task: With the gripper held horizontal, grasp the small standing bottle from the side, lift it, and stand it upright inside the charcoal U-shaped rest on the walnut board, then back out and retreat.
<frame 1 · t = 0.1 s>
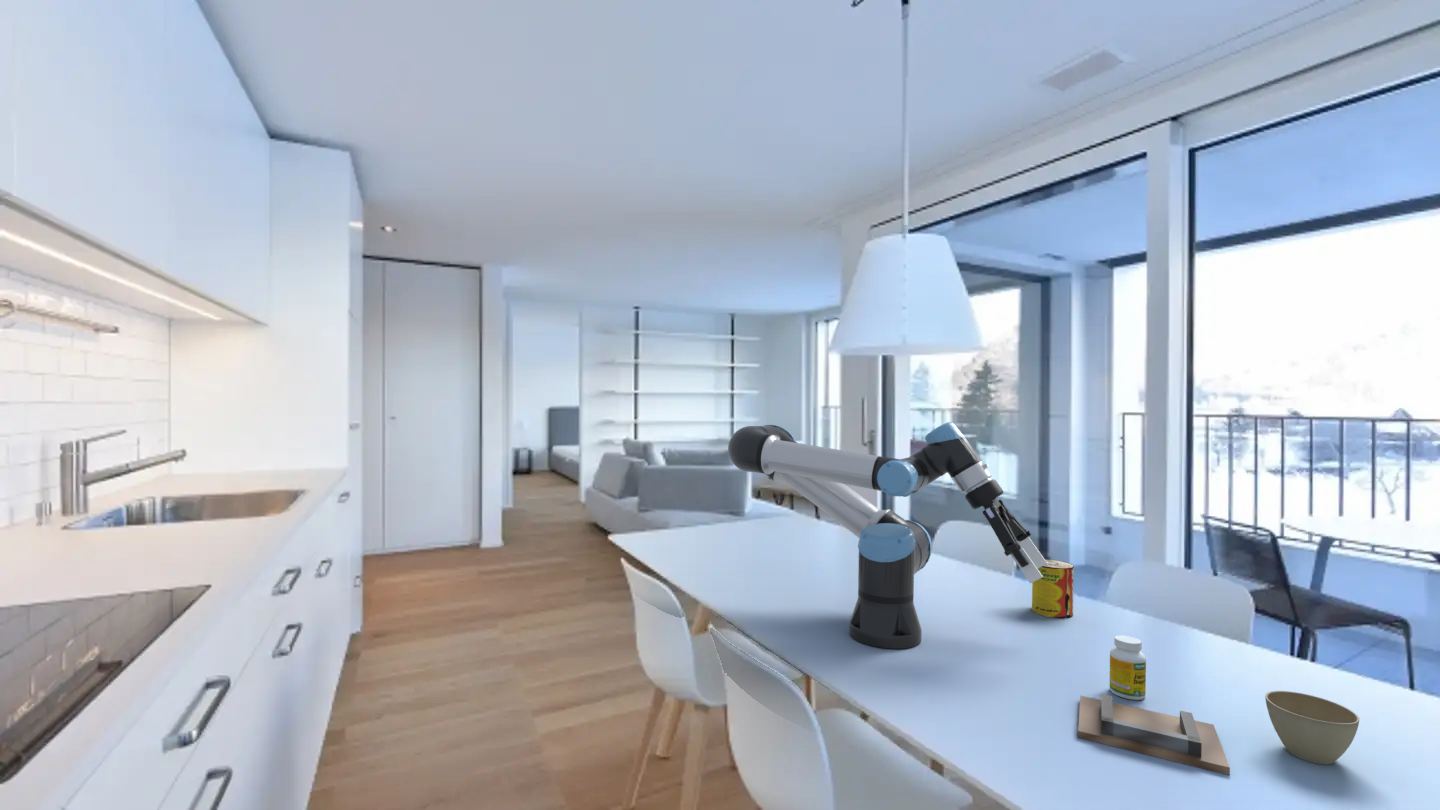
hand: (1039, 572, 133), 15 cm above the table, tool tilted 35°, fingers open, 13 cm apart
u rest: (1146, 734, 97), on the table
yellow red tin can: (1052, 613, 156), on the table
beige bowl: (1309, 756, 92), on the table
supplement bottle: (1127, 695, 111), on the table
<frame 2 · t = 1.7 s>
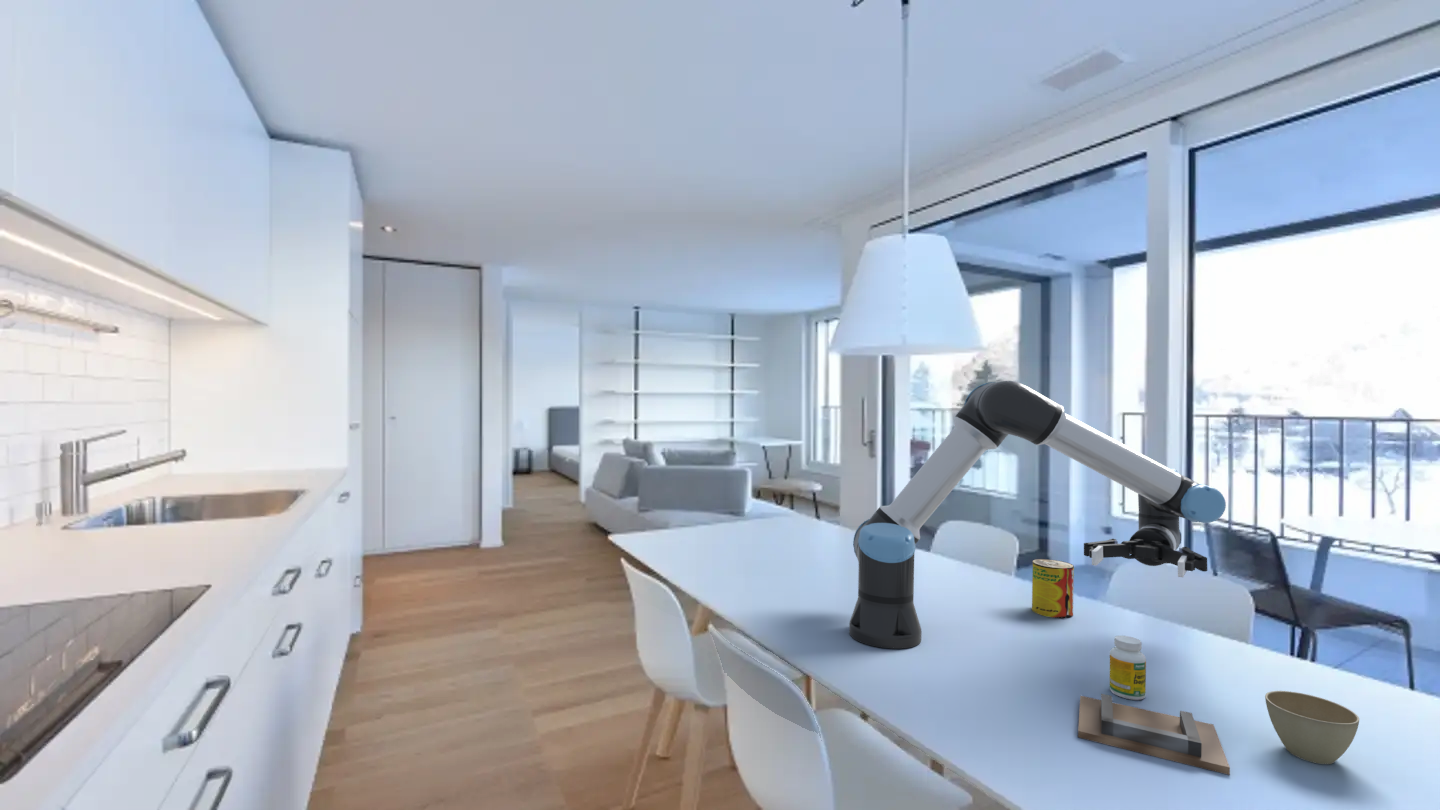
hand: (1135, 563, 118), 21 cm above the table, tool horizontal, fingers open, 13 cm apart
nothing on the table moved.
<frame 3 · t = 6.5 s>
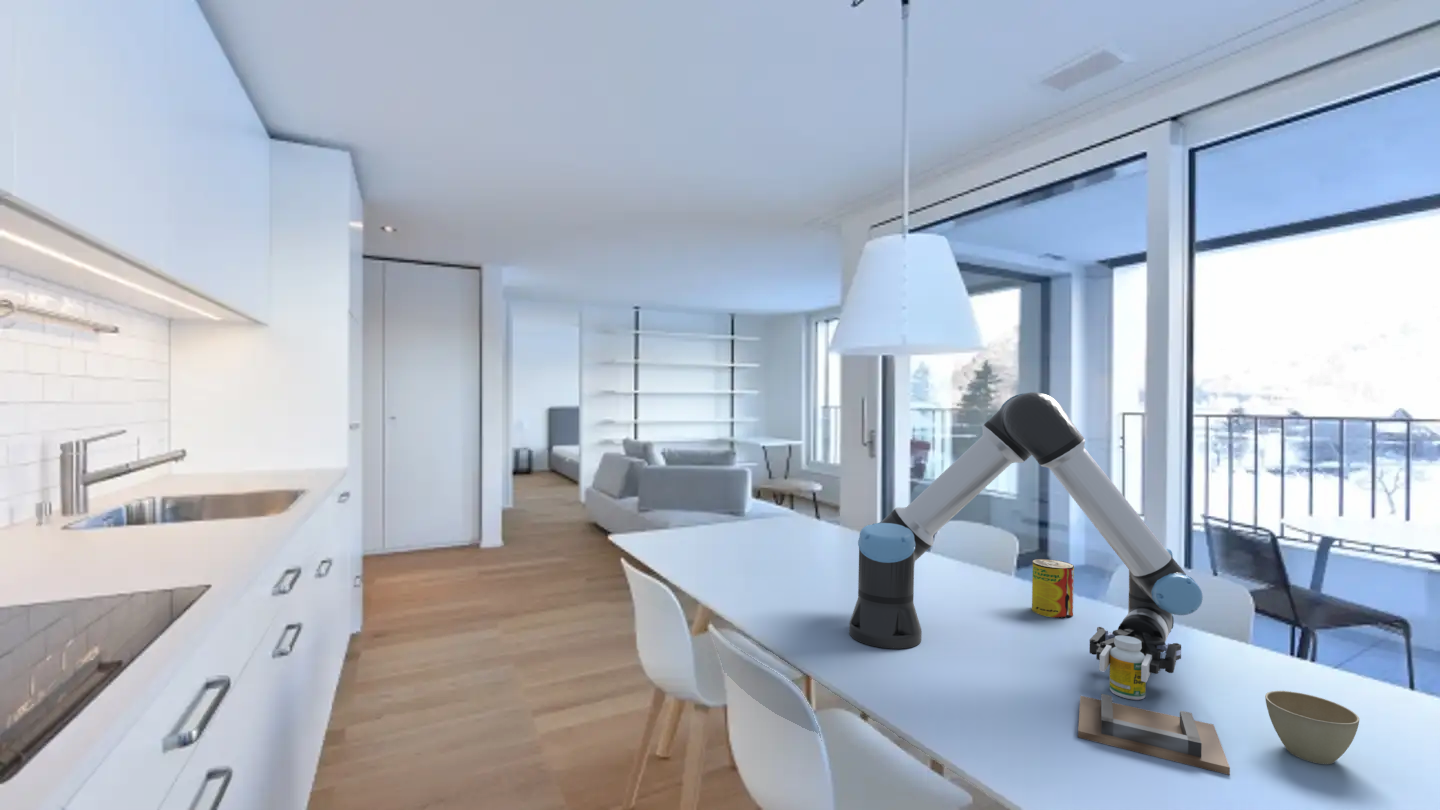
hand: (1122, 668, 107), 6 cm above the table, tool horizontal, fingers closed on supplement bottle, 5 cm apart
supplement bottle: (1127, 695, 111), on the table, touching gripper
everything else where it was.
when the fingers open (9 cm above the table, at t = 11.5 s): supplement bottle drops 2 cm, resting on u rest.
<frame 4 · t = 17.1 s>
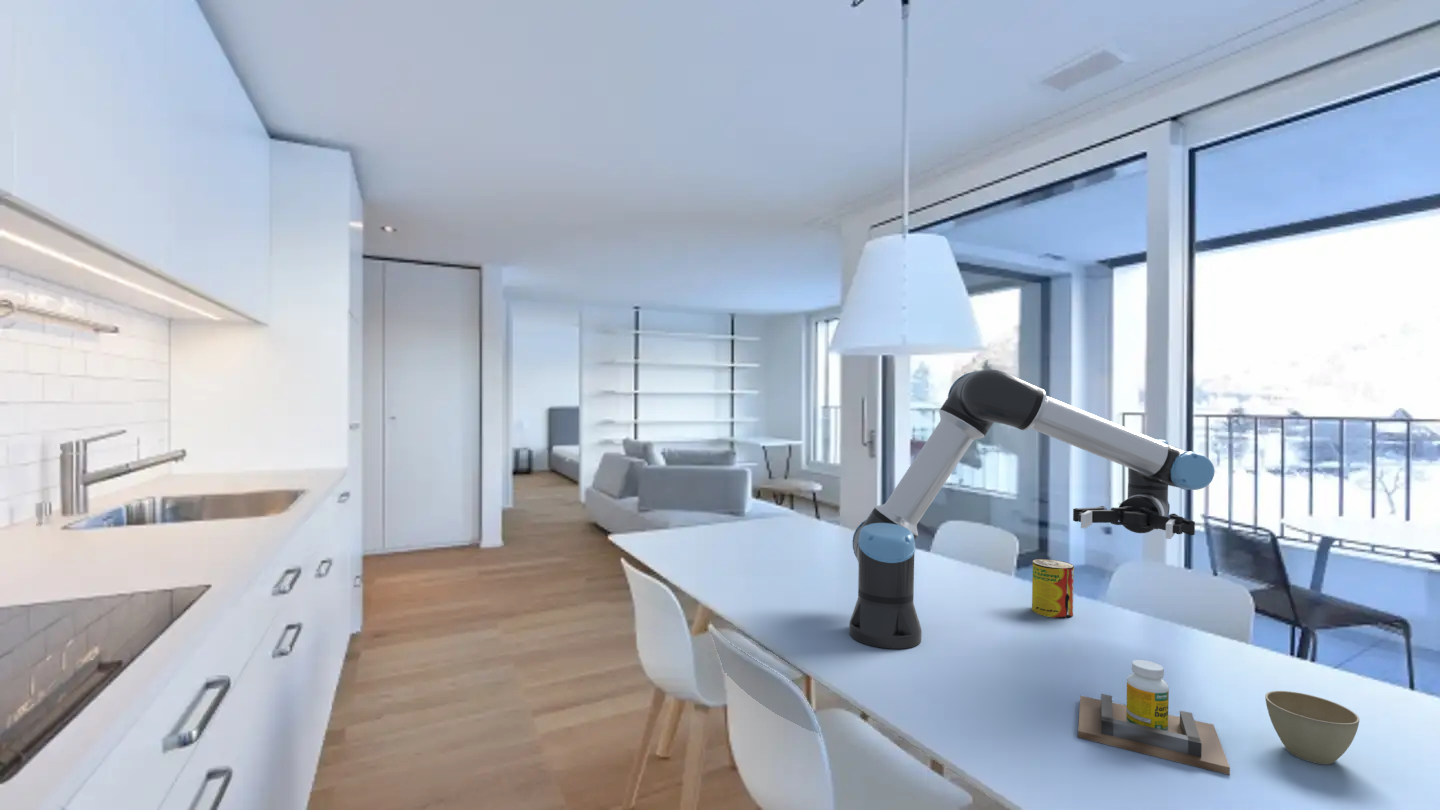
hand: (1124, 526, 119), 28 cm above the table, tool horizontal, fingers open, 13 cm apart
supplement bottle: (1146, 728, 97), point 1 cm above the table, touching u rest
everything else where it was.
at the end: supplement bottle 0.0 cm off-centre on the u rest, point 0.8 cm above the u rest's base; supplement bottle tilted 0°; the gripper is holding nothing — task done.
